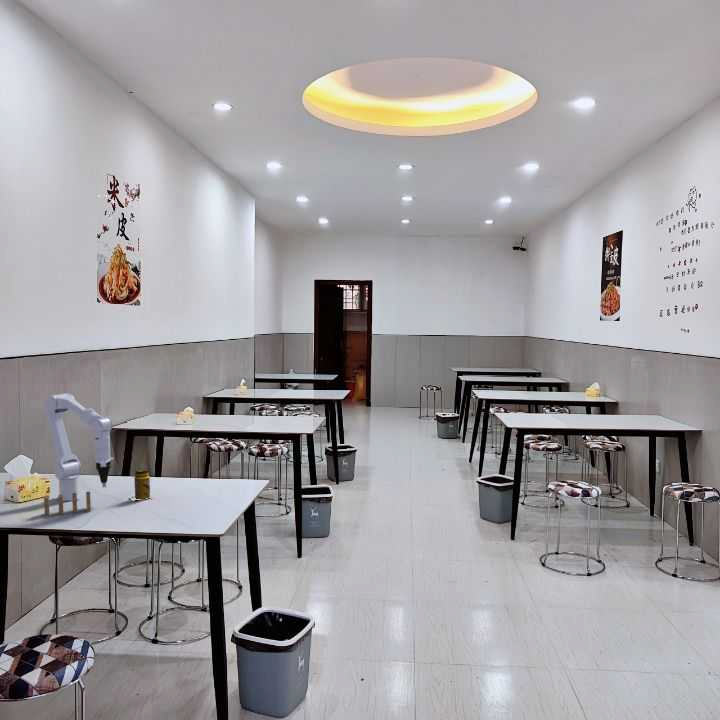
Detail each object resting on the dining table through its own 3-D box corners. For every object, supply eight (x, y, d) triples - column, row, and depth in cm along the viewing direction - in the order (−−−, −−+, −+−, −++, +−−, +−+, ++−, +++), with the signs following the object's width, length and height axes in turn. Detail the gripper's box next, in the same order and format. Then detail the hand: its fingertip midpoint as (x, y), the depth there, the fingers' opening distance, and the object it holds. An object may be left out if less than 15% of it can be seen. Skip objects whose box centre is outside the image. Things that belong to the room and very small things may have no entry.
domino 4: (86, 509, 280) (86, 491, 279) (90, 508, 280) (90, 491, 280) (86, 512, 276) (86, 494, 275) (90, 511, 276) (89, 494, 276)
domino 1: (45, 513, 275) (44, 495, 274) (49, 512, 275) (48, 495, 275) (44, 516, 271) (44, 498, 270) (48, 515, 271) (48, 497, 271)
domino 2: (59, 511, 276) (58, 494, 276) (63, 511, 277) (62, 493, 276) (58, 514, 272) (58, 496, 272) (62, 514, 273) (62, 496, 272)
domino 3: (73, 510, 278) (72, 493, 278) (77, 510, 279) (76, 492, 278) (72, 513, 274) (72, 495, 274) (76, 513, 274) (76, 495, 274)
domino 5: (102, 485, 288) (101, 468, 288) (105, 484, 289) (105, 467, 288) (102, 487, 284) (101, 470, 284) (106, 487, 285) (105, 469, 284)
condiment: (153, 498, 294) (152, 470, 294) (132, 502, 290) (131, 473, 289) (148, 495, 301) (147, 467, 300) (127, 498, 296) (126, 470, 295)
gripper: (113, 450, 280) (114, 484, 281) (112, 444, 293) (113, 476, 294) (94, 451, 277) (95, 485, 278) (94, 445, 291) (95, 478, 292)
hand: (103, 481), depth 286 cm, fingers closed on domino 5, 4 cm apart
